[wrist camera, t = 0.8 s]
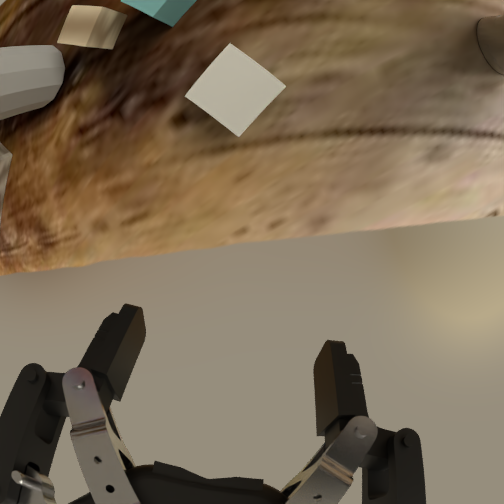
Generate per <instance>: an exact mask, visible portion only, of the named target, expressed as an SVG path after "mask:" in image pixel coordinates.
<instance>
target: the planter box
mask: <svg viewBox="0 0 504 504" xmlns="http://www.w3.org/2000/svg"><path fill="white" fill-rule="evenodd" d="M11 159H12V154H11V153H10V152H9V151H8V150H7V149H6V148H5V147H4V146H3V145H2V144H1V143H0V224H1V215H2V207H3V200H4V193H5V188H6V182H7V177H8V172H9V167H10V163H11Z"/></svg>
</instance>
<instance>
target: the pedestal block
mask: <svg viewBox="0 0 504 504" xmlns="http://www.w3.org/2000/svg"><path fill="white" fill-rule="evenodd" d="M285 87H286V86H285V85H284V84H283V83H282V82H281V81H279V80H278V79H277V78H276V77H275V76H273V75H272V74H271V73H270V72H268V71H267V70H266V69H264V68H263V67H262V66H261V65H259V64H258V63H257V62H255V61H254V60H253V59H251V58H250V57H249V56H247V55H246V54H244V53H243V52H242V51H240V50H239V49H237V48H236V47H235V46H233V45H232V44H229V45H228V46H227V47H226V48H225V49H224V50H223V51H222V52H221V53H220V54H219V56H218V57H217V58H216V59H215V60H214V61H213V62H212V63H211V65H210V66H209V67H208V68H207V69H206V70H205V72H204V73H203V74H202V75H201V76H200V78H199V79H198V80H197V81H196V83H195V84H194V85H193V86H192V87H191V89H190V90H189V91H188V93H187V94H186V95H185V97H187V98H188V99H189V100H191V101H192V102H193V103H195V104H196V105H198V106H199V107H200V108H202V109H203V110H204V111H206V112H207V113H208V114H210V115H211V116H212V117H214V118H215V119H216V120H217V121H219V122H220V123H221V124H223V125H224V126H225V127H226V128H228V129H229V130H230V131H231V132H233V133H234V134H235V135H237V136H238V137H239V136H240V135H241V134H242V133H243V132H244V131H245V130H246V129H247V127H248V126H249V125H250V124H251V123H252V122H253V121H254V120H255V119H256V117H257V116H258V115H259V114H260V113H261V112H262V111H263V110H264V109H265V108H266V107H267V106H268V105H269V104H270V103H271V101H272V100H273V99H274V98H275V97H276V96H277V95H278V94H279V93H280V92H281V91H282V90H283V89H284V88H285Z"/></svg>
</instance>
